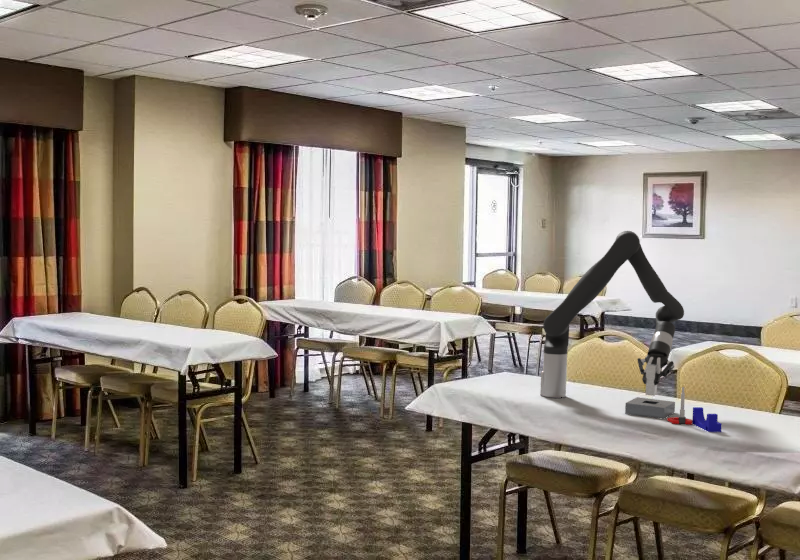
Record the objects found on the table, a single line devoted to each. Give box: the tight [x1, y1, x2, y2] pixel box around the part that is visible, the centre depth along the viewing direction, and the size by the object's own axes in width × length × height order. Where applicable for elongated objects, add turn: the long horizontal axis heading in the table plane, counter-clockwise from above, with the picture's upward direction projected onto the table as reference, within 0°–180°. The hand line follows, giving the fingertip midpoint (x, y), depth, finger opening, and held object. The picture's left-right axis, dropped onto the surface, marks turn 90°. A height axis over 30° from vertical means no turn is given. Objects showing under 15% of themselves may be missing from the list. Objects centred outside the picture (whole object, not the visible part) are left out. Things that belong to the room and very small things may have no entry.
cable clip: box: [691, 406, 723, 433], centre depth 295 cm, size 12×4×6 cm, turn 6°
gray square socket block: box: [624, 396, 676, 420], centre depth 317 cm, size 14×14×4 cm
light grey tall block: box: [645, 363, 658, 397], centre depth 317 cm, size 3×3×11 cm
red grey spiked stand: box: [666, 386, 693, 426], centre depth 304 cm, size 8×13×9 cm
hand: (650, 383), depth 315 cm, fingers closed on light grey tall block, 3 cm apart
